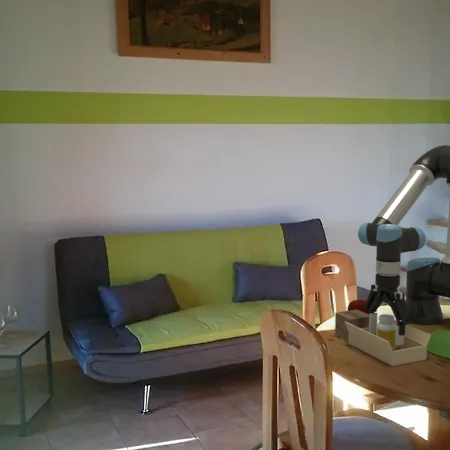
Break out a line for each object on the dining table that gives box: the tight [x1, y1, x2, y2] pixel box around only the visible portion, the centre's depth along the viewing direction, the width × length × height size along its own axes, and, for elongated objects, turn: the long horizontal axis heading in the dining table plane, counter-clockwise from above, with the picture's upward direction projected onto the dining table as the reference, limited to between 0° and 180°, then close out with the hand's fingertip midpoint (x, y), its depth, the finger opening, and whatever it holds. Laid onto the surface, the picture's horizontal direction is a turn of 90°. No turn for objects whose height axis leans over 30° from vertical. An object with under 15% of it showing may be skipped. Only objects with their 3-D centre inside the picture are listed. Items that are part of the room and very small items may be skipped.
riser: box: [334, 310, 369, 342], centre depth 219 cm, size 9×9×8 cm
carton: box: [345, 319, 432, 367], centre depth 204 cm, size 16×23×8 cm
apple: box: [346, 299, 369, 314], centre depth 230 cm, size 10×10×10 cm
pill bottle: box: [376, 313, 397, 351], centre depth 204 cm, size 6×6×12 cm
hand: (385, 338), depth 204 cm, fingers open, 13 cm apart
